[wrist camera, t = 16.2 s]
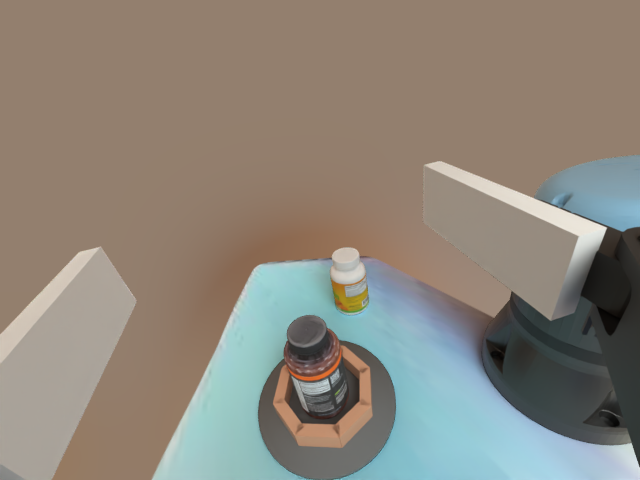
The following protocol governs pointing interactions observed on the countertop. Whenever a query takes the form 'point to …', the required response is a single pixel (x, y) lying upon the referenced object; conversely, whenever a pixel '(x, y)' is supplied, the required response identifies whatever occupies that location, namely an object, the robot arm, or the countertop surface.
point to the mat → (328, 460)
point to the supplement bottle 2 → (349, 281)
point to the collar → (327, 432)
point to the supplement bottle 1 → (316, 367)
